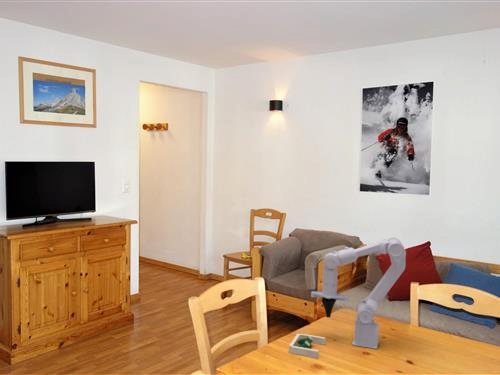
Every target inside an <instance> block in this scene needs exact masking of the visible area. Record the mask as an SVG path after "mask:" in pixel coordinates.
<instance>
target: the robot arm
mask: <svg viewBox="0 0 500 375" xmlns="http://www.w3.org/2000/svg"><path fill="white" fill-rule="evenodd" d="M375 253H380V254H383V255H386V254H388V256H389V259H390V263H391V265H390V266H389V268H388V269H387V270H386V271H385V273H384V274H383V276H382V277H381V278H380V280H379V281H378V282H377V283H376V285H375V287H374V288H373V289H372V290H371V292H370V293H369V294H368V296H366V297H365V299H363V300H362V301H361V302H359V303H358V304H357V305H356V317H355V320H354V336H353V337H354V338H353V340H352V346H356V347H362V348H363V347H364V348H369V349H375V350H377V349H378V346H379V343H380V337H379V336H380V335H379V334H380V323H378V322H375V320H374V319H375V318H374V317H375V314H376V312H377V310H378V307H379V306H380V304H381V303H382V301H383V299H385V297H386V296H387V295H388V293H389V292H390V290H391V288H392V287H393V286H394V284H395V283H396V282H397V280H398V279H399V278H400V276H401V275H402V274H403V272H404V271H405V269H406V263H407V262H406V260H407V259H406V258H407V257H406V255H407V252H406V248H405V246H404V245H403V243H402V242H401V240H400V239H398V238H396V237H391V238H388V239H381V240H378V241H376V242H372V243H369V244H367V245H364V246H360V247H359V248H353V247H348V246H345V247H344V249H341V250H340V249H339V250H337V251H336V250H333V251H332V252H328V253H326V254H325V255H324V257H323V261H322V263H323V271H322V291H311V293H310V297H311V298H321V302H322V305H323V308H324V310H325V317H326V318H331V316H332V311H333V308H334V306H335V304H336V302H337V301H340V302H345V303H347V302H348V301H349V295H345V294H341V293H338V273H339V272H338V266H344V265H347V264H351V263H353V262H356V261H357V260H358V258H359V257H364V256H368V255H371V254H375Z"/></svg>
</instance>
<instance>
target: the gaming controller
mask: <svg viewBox="0 0 500 375" xmlns="http://www.w3.org/2000/svg"><path fill="white" fill-rule="evenodd" d="M312 341H313V339H312V338H311V337H310V336H309V337H307V338H305V339H300V340H299V341H298V344H297V347H303V348H308V349H310V347H311V345H312Z"/></svg>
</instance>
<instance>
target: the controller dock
mask: <svg viewBox="0 0 500 375" xmlns="http://www.w3.org/2000/svg"><path fill="white" fill-rule="evenodd" d="M309 336H310V337H311V338H312V339H313V341H312V343H313V344H318V345H323V346H325V345H326V337H325V336H324V337H323V336H319V335H312V334H306V333H296V335H295V336H294V338H293V340H292V341H291V342H290V343H289V345H288V353H290V354H291V355H297V356H303V357H309V358H315V359H319V357H320V350H319V349H313V348H303V347H297V346H298V345H299V344H298V341H299V340H300V339H305V338H307V337H309ZM312 343H311V344H312Z"/></svg>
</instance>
